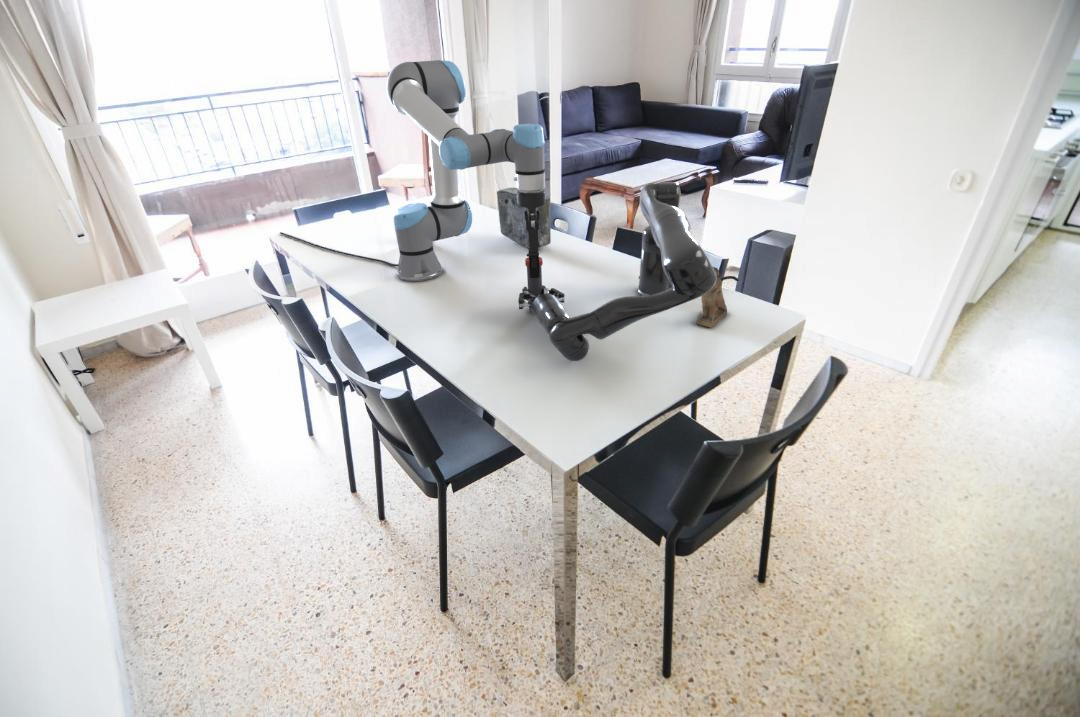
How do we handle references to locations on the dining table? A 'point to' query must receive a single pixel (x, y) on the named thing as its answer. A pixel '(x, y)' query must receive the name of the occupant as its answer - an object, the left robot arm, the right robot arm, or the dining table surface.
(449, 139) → the left robot arm
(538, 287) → the jar
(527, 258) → the lid
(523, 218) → the concrete block
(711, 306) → the worn brown figurine
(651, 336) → the dining table surface
